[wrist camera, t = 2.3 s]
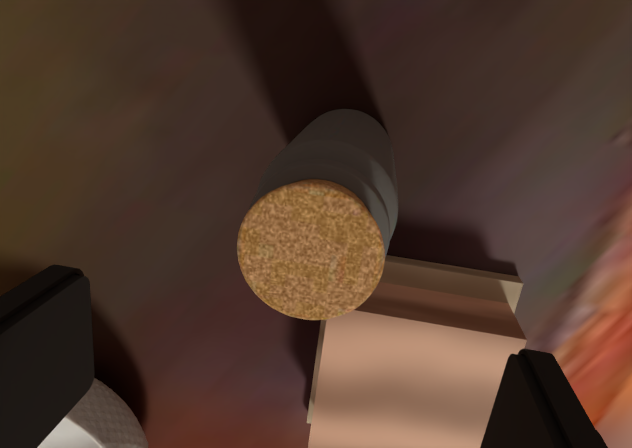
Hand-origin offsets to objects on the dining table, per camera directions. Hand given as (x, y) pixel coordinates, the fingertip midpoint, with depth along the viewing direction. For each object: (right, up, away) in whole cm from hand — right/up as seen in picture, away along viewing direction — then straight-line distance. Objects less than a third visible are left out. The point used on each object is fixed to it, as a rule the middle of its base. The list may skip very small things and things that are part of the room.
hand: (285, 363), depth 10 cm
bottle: (+2, +7, +19) cm, 20 cm away
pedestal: (+7, -6, +22) cm, 24 cm away
